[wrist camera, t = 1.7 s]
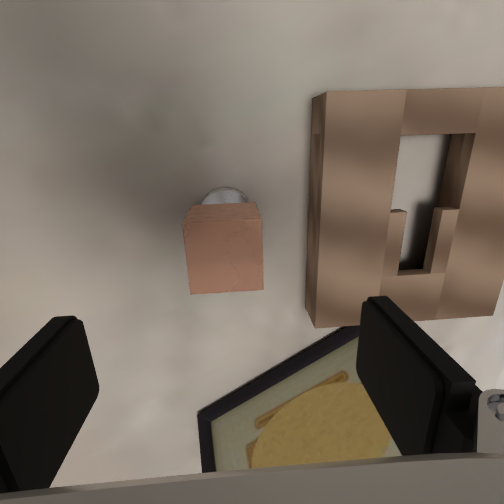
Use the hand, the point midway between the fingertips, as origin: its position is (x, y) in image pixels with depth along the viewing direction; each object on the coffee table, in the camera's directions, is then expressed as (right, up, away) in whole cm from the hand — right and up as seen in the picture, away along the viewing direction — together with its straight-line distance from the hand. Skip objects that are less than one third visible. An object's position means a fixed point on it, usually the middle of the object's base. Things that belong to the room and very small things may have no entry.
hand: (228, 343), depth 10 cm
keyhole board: (+14, +7, +16) cm, 22 cm away
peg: (-1, +6, +15) cm, 16 cm away
